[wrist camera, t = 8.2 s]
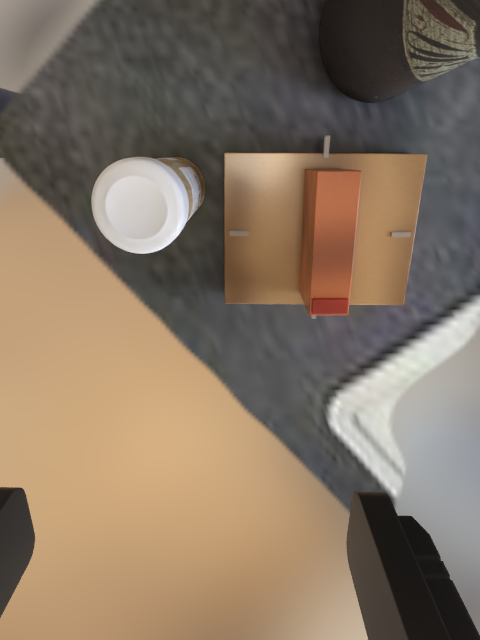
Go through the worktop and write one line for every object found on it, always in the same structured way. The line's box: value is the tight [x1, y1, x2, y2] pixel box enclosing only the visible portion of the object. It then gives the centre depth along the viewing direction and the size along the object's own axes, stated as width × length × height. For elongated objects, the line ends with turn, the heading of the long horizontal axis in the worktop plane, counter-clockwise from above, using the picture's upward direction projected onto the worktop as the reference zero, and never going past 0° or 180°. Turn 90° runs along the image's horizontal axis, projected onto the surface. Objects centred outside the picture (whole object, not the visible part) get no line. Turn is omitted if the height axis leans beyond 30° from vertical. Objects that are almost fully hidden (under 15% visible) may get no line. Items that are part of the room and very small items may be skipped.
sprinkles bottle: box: [91, 157, 206, 254], centre depth 26 cm, size 5×5×14 cm
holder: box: [300, 168, 362, 315], centre depth 28 cm, size 9×3×5 cm, turn 0°
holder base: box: [224, 135, 427, 318], centre depth 32 cm, size 14×13×3 cm
